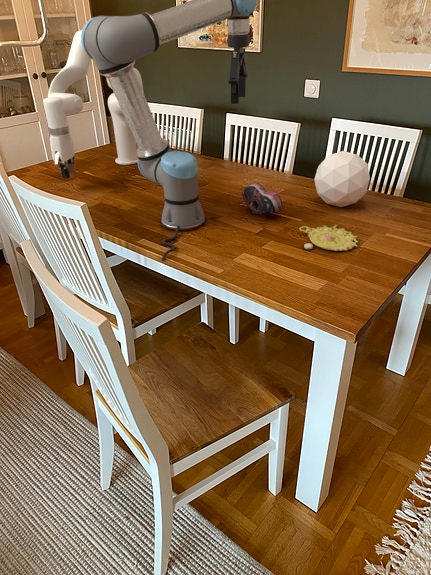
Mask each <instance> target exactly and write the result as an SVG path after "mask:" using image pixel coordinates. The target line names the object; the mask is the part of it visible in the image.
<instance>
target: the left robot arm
mask: <svg viewBox="0 0 431 575" xmlns="http://www.w3.org/2000/svg"><path fill="white" fill-rule="evenodd" d="M81 33H82V29H81V30H78V31H76V32H75V33H74V36H73V39H72V42H71V46H70V50H69V53H68V57H67V60H66V64H65V65H64V67H63V68H61V69H60V71H59V72H58V73H57V74H56V75H55V77H54V78H53V79H52V81H51V83H50V86H49V89H48V93H47V97H45V98H43V101H42V105H43V109H44V112H45V117H46V121H47V126H48V130H49V136H50V137H49V144H50V145H49V146H50V151H51V157H52V161H53V162H54V165H55V166H56V167H58V169H59V170H61V171H60V175H61V178H62V179H70V177H69V172H68V169H67V167H66V164H74V165H75V157H76V152H75V147H74V146H75V145H74V143H73V138H72V135H71V131H70V126H69V121H68V117H67V116H69V115H78V114H79V113H81V112H82V111H83V109H84V101H83V99H82V97H81V96H79V95H78V94H76V93H67V92H66V91H67V90H68V88H69V87H70V86H72V85H73V84H74V83H76V82H79V81H81V80H82V79H84V78H86V77H87V76H88V74H89V71H90V66H91V63H92V60H93V59H92V58H90V57H89V56H88V55H87V53H86V52H85V51H84V49H83V46H82V42H81ZM133 68H134V70H135V73H136V75H137V78H138V80H139V83H140V85H141V88H142V91H143V93H144V94H145V92H144V86H143V85H144V84H143V79H142V75H141V73H140V71H139V70H138V69H137V68H135V67H133ZM105 78H106V82H107V85H108V87H109V88H110V89H112V87H111V85H110V83H109V80H108V78H107V77H105ZM112 90H113V89H112ZM107 107H108V110H109V112H110V115H111V116H110V117H111V121H112V126H113V132H114V139H115V146H116V153H117V157H116V158H115V159H114V161H115V163H116V164H118V165H123V166H125V165H126V166H127V165H128V166H129V165H135V164H138V156H137V154H136V152H137V149H138V148H137V143H136V141H135V139H134V137H133V134H132V132H131V130H130V128H129V125H128V123H127V121H126V119H125V116H124V114H123V112H122V110H121V107H120V105H119V103H118V101H117V98H116V96H115V94H114V92H112V93H111V94H110V95H109V96H108V98H107ZM63 164H64V165H63Z"/></svg>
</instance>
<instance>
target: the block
mask: <svg viewBox="0 0 431 575" xmlns="http://www.w3.org/2000/svg"><path fill="white" fill-rule="evenodd" d="M62 164H63V163H62ZM63 165H64V164H63ZM66 167H67V169H68V172H69V177H70V178H69V180H71V179H73V178H74V177H76V176H77V172H76V169H75V163H74V164H67V163H66ZM59 170H60V169H59ZM60 172H61V170H60Z"/></svg>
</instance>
